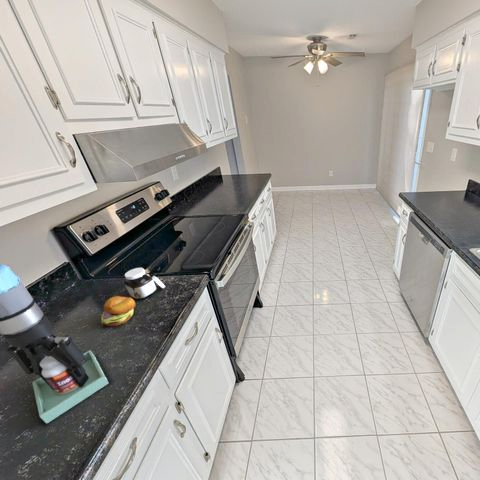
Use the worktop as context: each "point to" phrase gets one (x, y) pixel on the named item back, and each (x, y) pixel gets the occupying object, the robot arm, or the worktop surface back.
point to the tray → (57, 404)
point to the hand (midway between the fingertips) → (71, 383)
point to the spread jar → (141, 283)
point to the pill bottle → (57, 376)
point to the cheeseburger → (117, 310)
